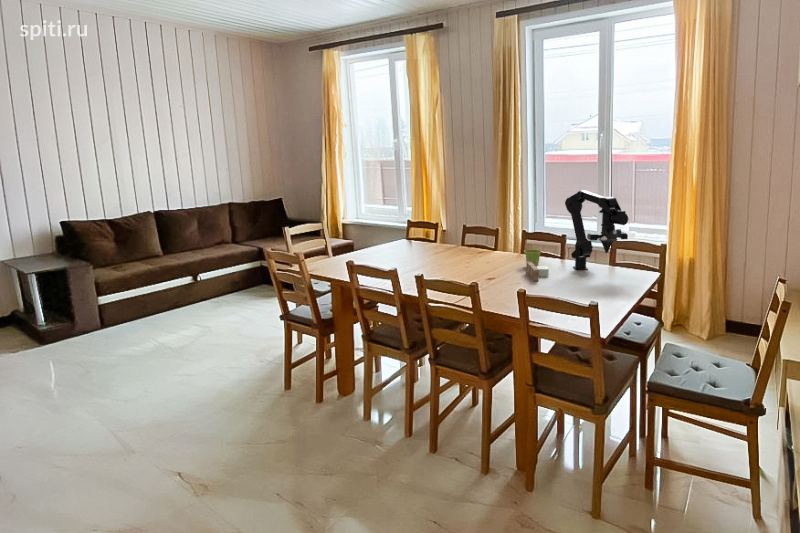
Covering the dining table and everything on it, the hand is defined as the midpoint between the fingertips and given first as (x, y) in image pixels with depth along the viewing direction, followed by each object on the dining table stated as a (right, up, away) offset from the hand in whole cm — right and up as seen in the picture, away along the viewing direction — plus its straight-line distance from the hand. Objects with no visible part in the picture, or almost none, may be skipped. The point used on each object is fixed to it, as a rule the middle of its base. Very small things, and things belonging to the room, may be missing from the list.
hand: (606, 252), depth 290 cm
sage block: (-30, -11, +9) cm, 34 cm away
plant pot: (-31, -7, +28) cm, 42 cm away
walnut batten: (-36, -12, +5) cm, 39 cm away
